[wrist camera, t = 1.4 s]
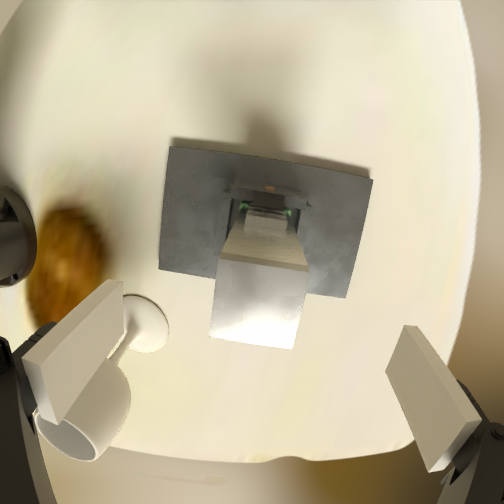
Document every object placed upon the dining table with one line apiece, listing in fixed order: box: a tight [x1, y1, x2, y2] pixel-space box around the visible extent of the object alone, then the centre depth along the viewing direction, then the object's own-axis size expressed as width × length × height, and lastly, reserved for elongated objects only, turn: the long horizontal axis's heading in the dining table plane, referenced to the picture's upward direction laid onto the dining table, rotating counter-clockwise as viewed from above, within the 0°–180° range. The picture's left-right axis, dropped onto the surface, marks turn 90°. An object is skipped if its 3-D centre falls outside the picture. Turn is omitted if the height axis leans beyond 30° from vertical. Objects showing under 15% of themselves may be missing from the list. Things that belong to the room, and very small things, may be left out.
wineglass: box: [34, 296, 169, 462], centre depth 30 cm, size 9×9×21 cm
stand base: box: [159, 146, 373, 298], centre depth 31 cm, size 22×14×10 cm, turn 81°
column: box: [209, 201, 311, 349], centre depth 25 cm, size 5×5×19 cm
